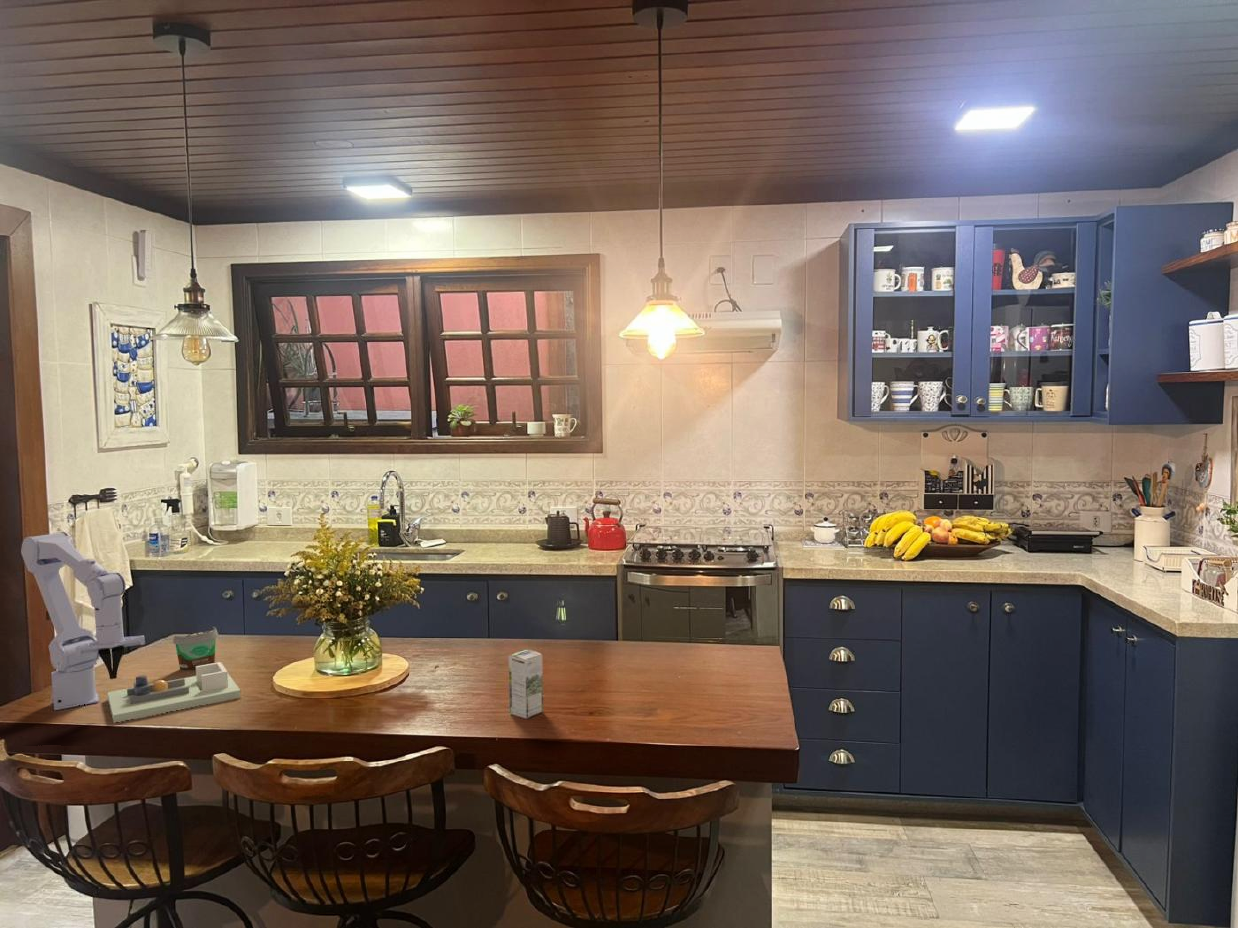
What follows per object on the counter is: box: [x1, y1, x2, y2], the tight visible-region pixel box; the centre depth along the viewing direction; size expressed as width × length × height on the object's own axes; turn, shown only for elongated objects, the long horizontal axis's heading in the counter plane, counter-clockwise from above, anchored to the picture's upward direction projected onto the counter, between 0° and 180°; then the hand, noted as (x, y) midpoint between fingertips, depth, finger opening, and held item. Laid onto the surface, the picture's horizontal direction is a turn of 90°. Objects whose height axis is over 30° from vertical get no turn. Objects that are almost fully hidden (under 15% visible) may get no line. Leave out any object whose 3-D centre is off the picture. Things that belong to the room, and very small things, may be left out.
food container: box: [172, 626, 219, 671], centre depth 243 cm, size 12×6×10 cm, turn 143°
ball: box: [152, 679, 168, 693], centre depth 215 cm, size 4×4×4 cm
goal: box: [195, 661, 229, 691], centre depth 222 cm, size 6×10×4 cm, turn 34°
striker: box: [133, 675, 150, 696], centre depth 213 cm, size 3×6×5 cm, turn 35°
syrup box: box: [508, 649, 544, 720], centre depth 201 cm, size 6×6×14 cm
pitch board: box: [107, 671, 242, 724], centre depth 217 cm, size 28×20×4 cm
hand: (113, 677), depth 209 cm, fingers closed
